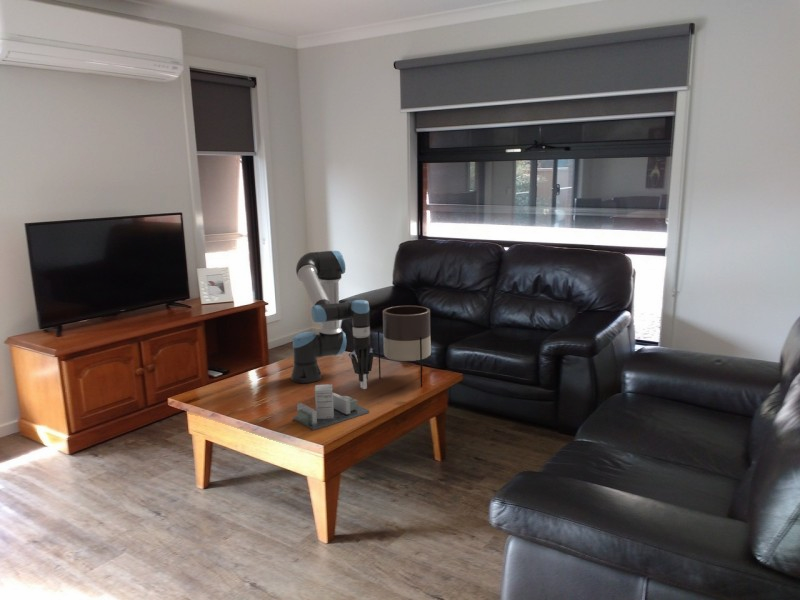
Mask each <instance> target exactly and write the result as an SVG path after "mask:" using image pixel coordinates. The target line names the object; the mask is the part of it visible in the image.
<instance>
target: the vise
mask: <svg viewBox="0 0 800 600" xmlns="http://www.w3.org/2000/svg"><path fill="white" fill-rule="evenodd" d="M296 406H297V407H296V408H297V415H295V416H293V417H292V418H293V420H294V421H296V422H298V423H300V424H302V425H303V426H305V427H306V428H309V429H310V430H312V431H316V430H319V429H322V428H325V427H329V426H332V425H335V424H337V423H342V422H344V421H348V420H350V419H353V418H357V417H360V416H364V415H366V414H369V413H370V409H367V408H365V407H363V406H361V405H359V404H357V409H356V410H353V411H350V414H344V413H342V412H340V411H338V410H336V409H334V418H330V419H317V412H316V409H314V408H312V407H310V406H309V405H307V404H304V403H302V402H300V403H299V402H298V403H297V404H296Z"/></svg>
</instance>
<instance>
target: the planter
mask: <svg viewBox="0 0 800 600" xmlns="http://www.w3.org/2000/svg"><path fill="white" fill-rule="evenodd" d="M382 328H383V333H382V334H383V354H381V346H380V341H381V340H380V331H379V330H378V331H377V345H378V346H377V348H378V378H379V380H381V379H382V377H381V373H382V372H381V357H382V358H383V357H385V358H387V359H389V360H393V361H398V362H413V361H415V362H417V363H420V387H421V388H422V387H423V371H424V369H423V364H424V363H423V360H424V359H427V358H428V357H430V356H431V353H432V349H431V348H432V346H431V345H432V344H431V309H430V308H428V307H425V306H421V305H420V306H419V305H397V306H391V307H386V308H385V309H383V310H382Z"/></svg>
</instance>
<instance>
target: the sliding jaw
mask: <svg viewBox="0 0 800 600" xmlns="http://www.w3.org/2000/svg"><path fill="white" fill-rule="evenodd" d="M357 405H358V400H357V399H355V398H352V397H351V396H348V395H344V396H342V395H340V394H338V393H336V392H333V407H334V409H336V410H338V411H340V412H342V413H344V414H350V411H353V410H356V409H357Z"/></svg>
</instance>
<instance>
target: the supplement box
mask: <svg viewBox="0 0 800 600" xmlns="http://www.w3.org/2000/svg"><path fill="white" fill-rule="evenodd" d="M333 393H334V392H333V384H328V383H327V384H317V385H315V386H314V398H315V399H314V400H315V401H314V402H315V410H316V412H317V419H330V418H334V407H333Z"/></svg>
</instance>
